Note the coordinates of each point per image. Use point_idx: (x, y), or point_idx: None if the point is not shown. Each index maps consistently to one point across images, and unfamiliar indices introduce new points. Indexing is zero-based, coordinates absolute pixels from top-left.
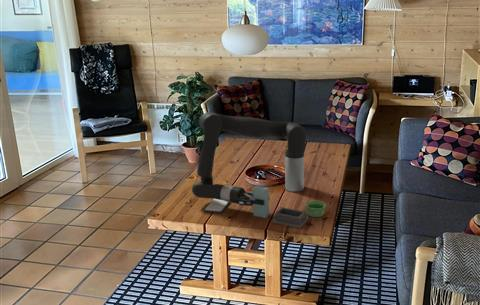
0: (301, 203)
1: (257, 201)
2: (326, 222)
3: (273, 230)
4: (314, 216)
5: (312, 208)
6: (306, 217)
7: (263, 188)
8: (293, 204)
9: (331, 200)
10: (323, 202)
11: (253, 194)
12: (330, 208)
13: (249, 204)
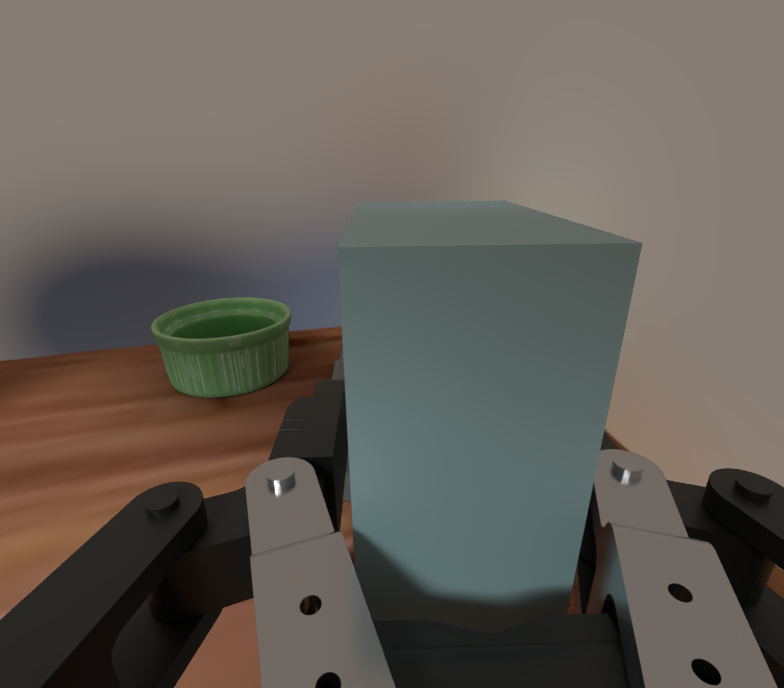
0: (28, 459)
1: (605, 436)
2: (334, 333)
3: (617, 443)
4: (288, 361)
5: (288, 313)
6: (336, 364)
7: (432, 208)
8: (40, 497)
9: (15, 367)
10: (183, 306)
11: (594, 434)
12: (151, 350)
13: (769, 607)
